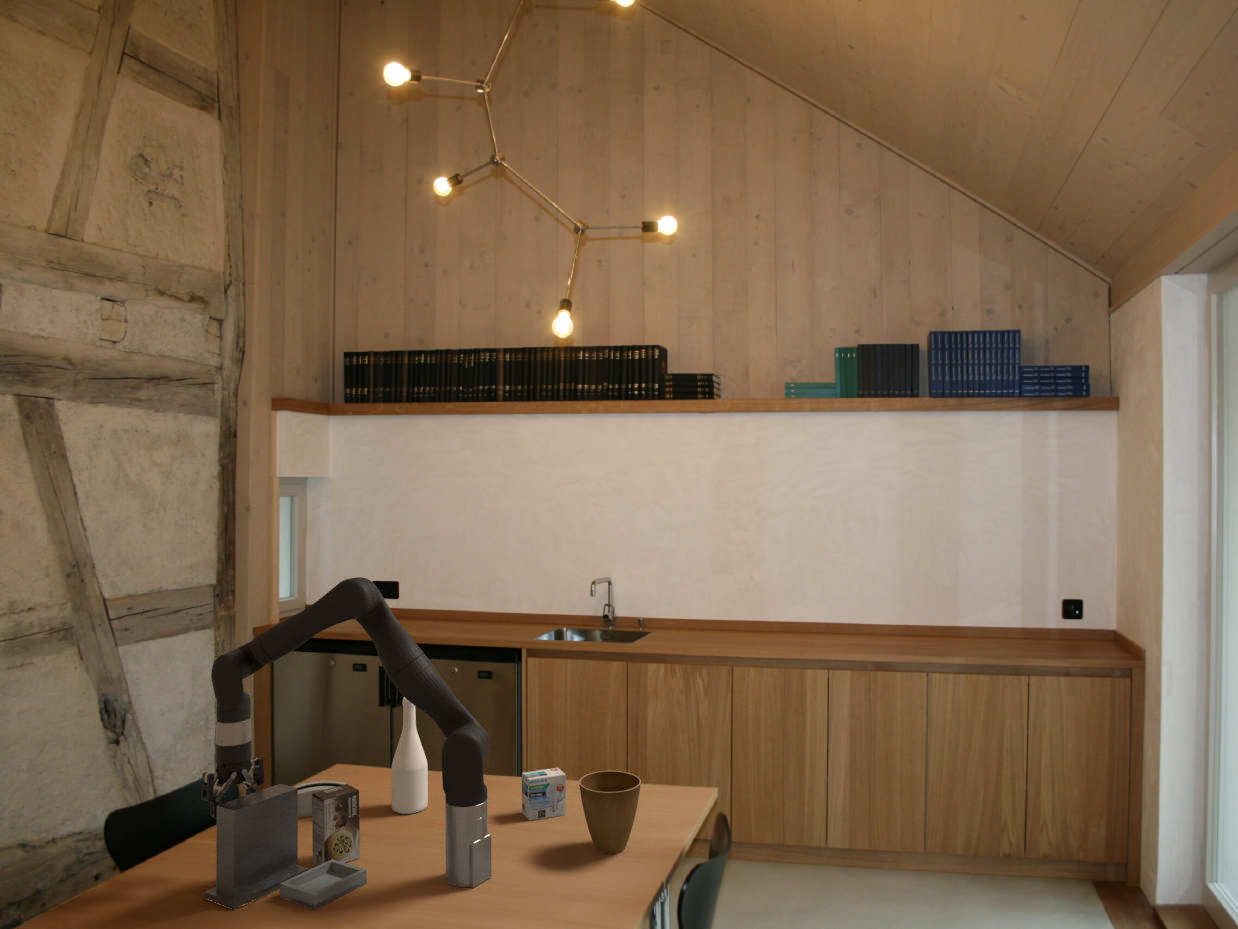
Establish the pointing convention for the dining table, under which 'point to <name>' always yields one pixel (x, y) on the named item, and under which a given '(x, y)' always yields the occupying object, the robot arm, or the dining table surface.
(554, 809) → the light bulb box
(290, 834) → the upright panel on base
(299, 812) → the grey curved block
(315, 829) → the coffee box
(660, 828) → the dining table surface
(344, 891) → the parts tray
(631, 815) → the plant pot
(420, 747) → the wine bottle
